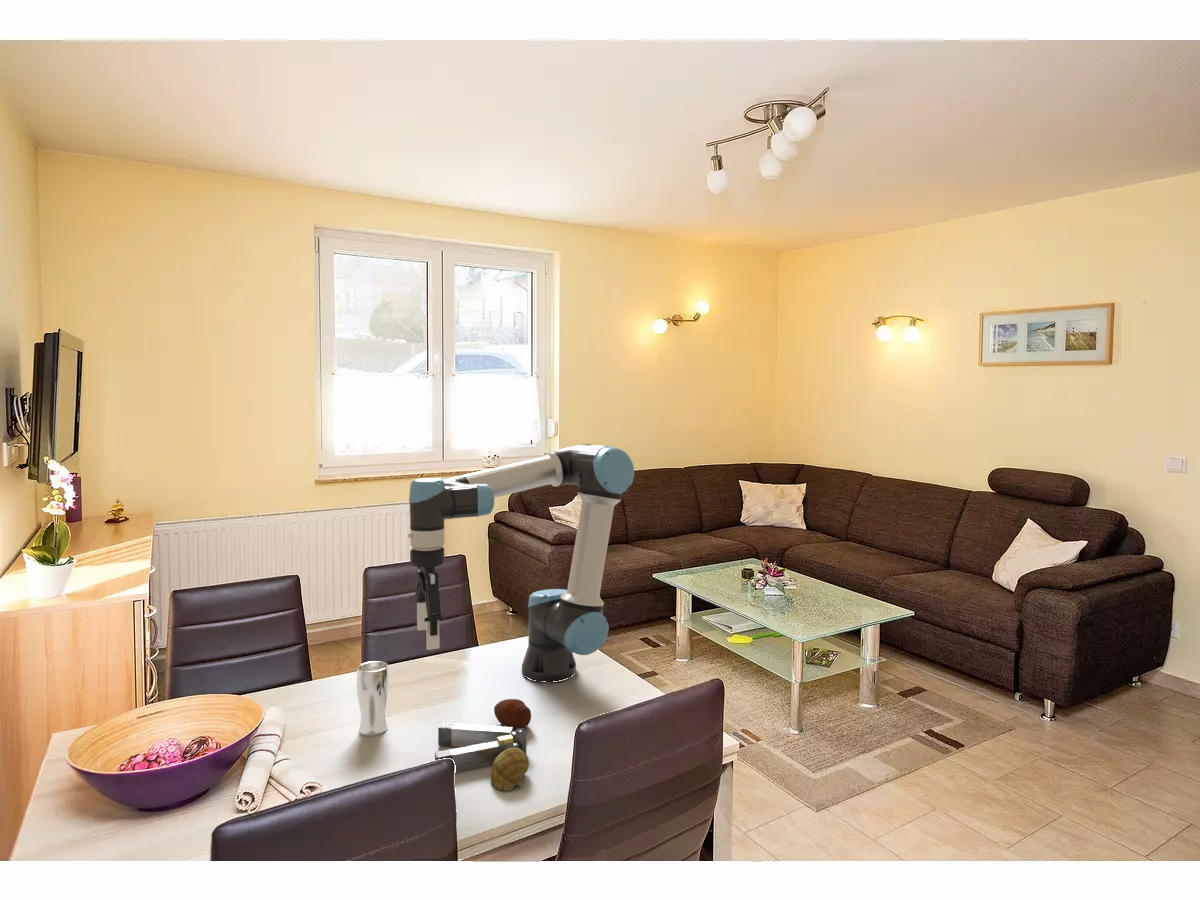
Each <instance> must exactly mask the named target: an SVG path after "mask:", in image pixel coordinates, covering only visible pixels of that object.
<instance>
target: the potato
mask: <svg viewBox="0 0 1200 900" xmlns="http://www.w3.org/2000/svg"><path fill="white" fill-rule="evenodd" d="M493 712H494V716H495V718H496V720H497V721H498V723H499V724H501V725H502V727H513V730H515V731H516V730H517V729H520V728H523V729H526V728H527V727H528V726H529V724H530V723H531V719H532V711H531V709H530V708H529V706H527V705H526V703H525V702H524V701H523V700H521V699H518V698H517V699H516V698H507V699H504V700H500V701H499V702H497V703H496V704H495V705H494V707H493Z"/></svg>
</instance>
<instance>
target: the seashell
mask: <svg viewBox="0 0 1200 900" xmlns="http://www.w3.org/2000/svg"><path fill="white" fill-rule="evenodd" d="M529 765H530V763H529V758H528V755H527V753H526V754H525V752H524V751H522V750H521V749H519V748H510V749H507V750H504V751H503V752H502V753H500V754H499V755H498V756H497V758H496V759H495V761H494V763H493V765H492V766H491V770H490V783H491V784H490V785H491V787H492V788H493V789H494V790H496V791H497V792H498V791H499V792H501V793H508V792H509V791H511V790H512V789H514V787H515V786H518V787H519V788H520V787H521V785H522V783H523V781H524V780H523V777H524V775H525V774H526V773H527V772H528V770H529Z"/></svg>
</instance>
